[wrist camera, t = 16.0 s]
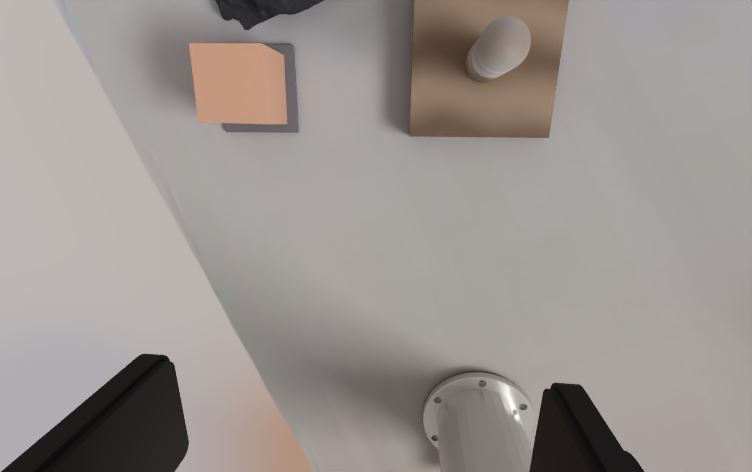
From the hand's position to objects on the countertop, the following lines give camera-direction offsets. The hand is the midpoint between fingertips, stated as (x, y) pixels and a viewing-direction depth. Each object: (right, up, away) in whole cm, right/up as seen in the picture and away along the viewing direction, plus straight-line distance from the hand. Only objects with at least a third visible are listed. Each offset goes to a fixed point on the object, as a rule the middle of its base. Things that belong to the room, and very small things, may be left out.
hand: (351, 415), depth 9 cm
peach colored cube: (-11, +18, +25) cm, 33 cm away
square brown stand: (+10, +20, +23) cm, 32 cm away
